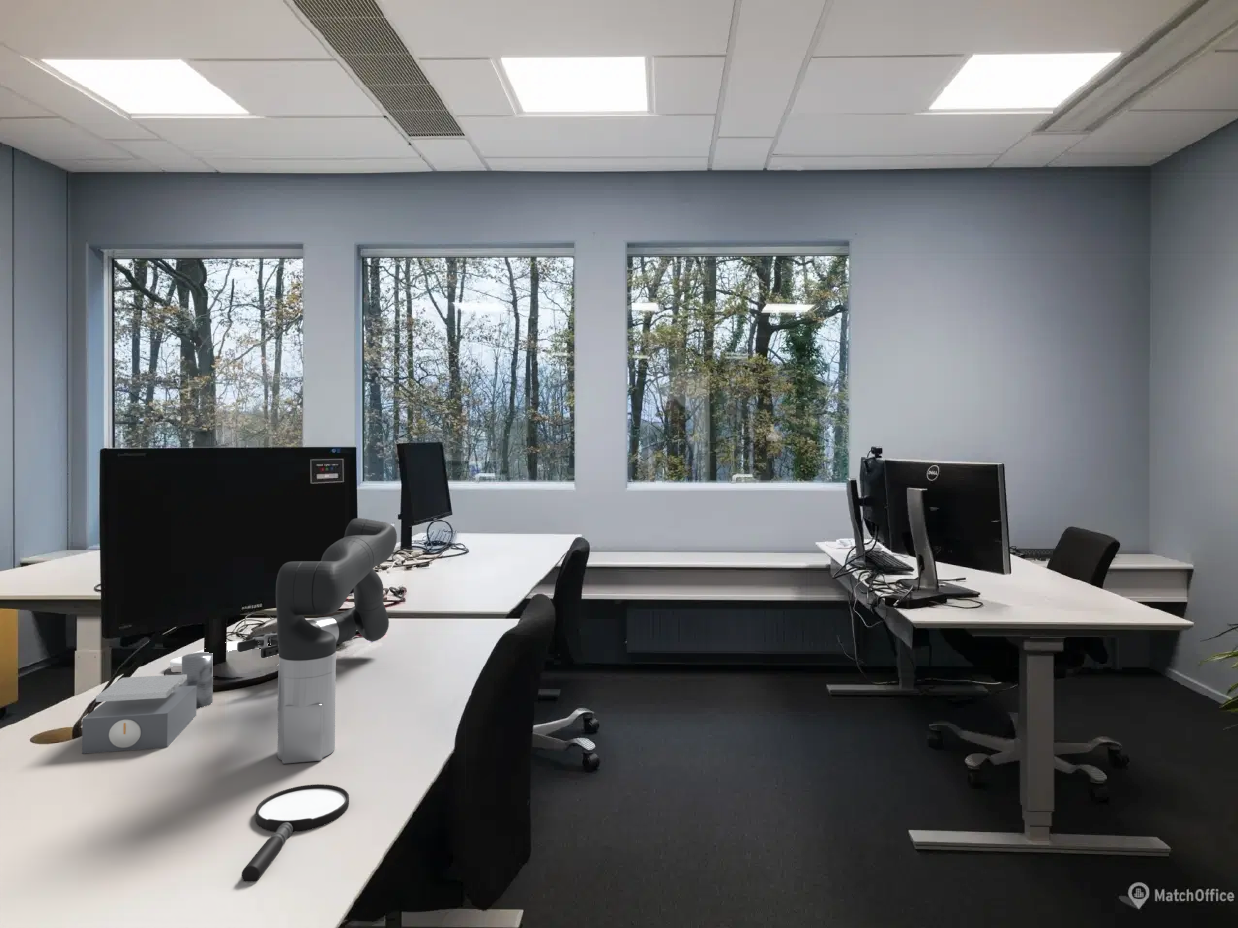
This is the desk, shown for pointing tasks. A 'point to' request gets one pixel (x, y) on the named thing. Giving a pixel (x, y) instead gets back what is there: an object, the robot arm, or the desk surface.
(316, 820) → the magnifying glass
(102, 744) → the scale base
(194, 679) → the cylinder
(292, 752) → the robot arm
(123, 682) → the scale pan
